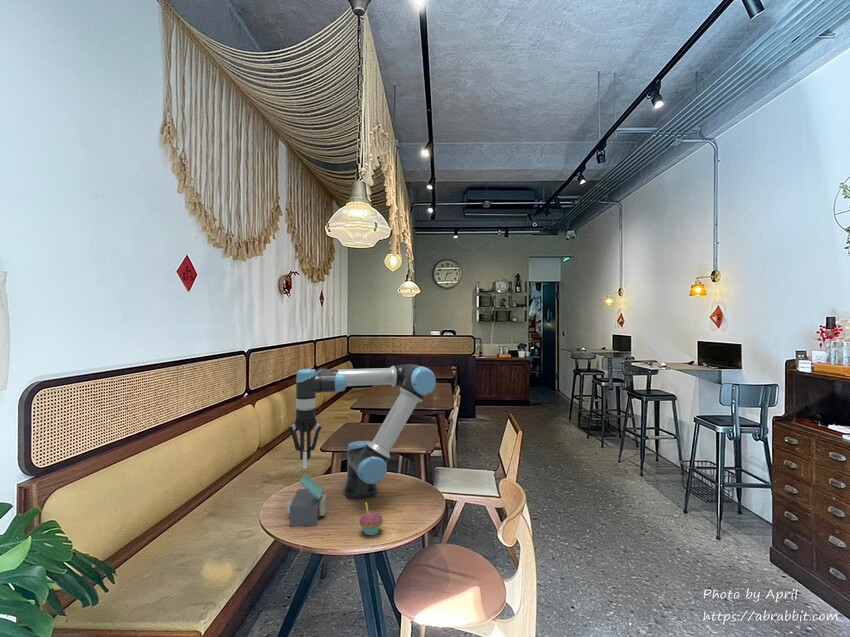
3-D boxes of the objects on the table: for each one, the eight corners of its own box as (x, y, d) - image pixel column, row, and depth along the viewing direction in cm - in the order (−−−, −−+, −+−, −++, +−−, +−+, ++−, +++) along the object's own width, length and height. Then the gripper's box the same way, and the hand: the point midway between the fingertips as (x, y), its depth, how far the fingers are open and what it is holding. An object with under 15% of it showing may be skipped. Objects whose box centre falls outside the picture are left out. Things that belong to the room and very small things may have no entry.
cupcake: (361, 540, 153) (361, 506, 153) (358, 528, 161) (357, 497, 161) (384, 536, 156) (384, 504, 155) (380, 525, 164) (380, 494, 164)
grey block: (322, 507, 179) (322, 488, 179) (316, 525, 163) (316, 505, 163) (298, 508, 178) (298, 488, 178) (289, 527, 163) (289, 506, 162)
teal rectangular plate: (321, 491, 175) (322, 489, 175) (318, 500, 167) (319, 498, 167) (303, 474, 175) (305, 473, 175) (299, 482, 167) (301, 480, 167)
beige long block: (326, 508, 175) (326, 494, 175) (324, 515, 169) (324, 500, 169) (290, 510, 173) (289, 495, 173) (286, 517, 167) (286, 501, 167)
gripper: (323, 406, 175) (323, 463, 175) (291, 406, 174) (290, 464, 174) (321, 410, 167) (320, 470, 167) (287, 410, 166) (286, 471, 166)
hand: (305, 467), depth 171 cm, fingers closed
